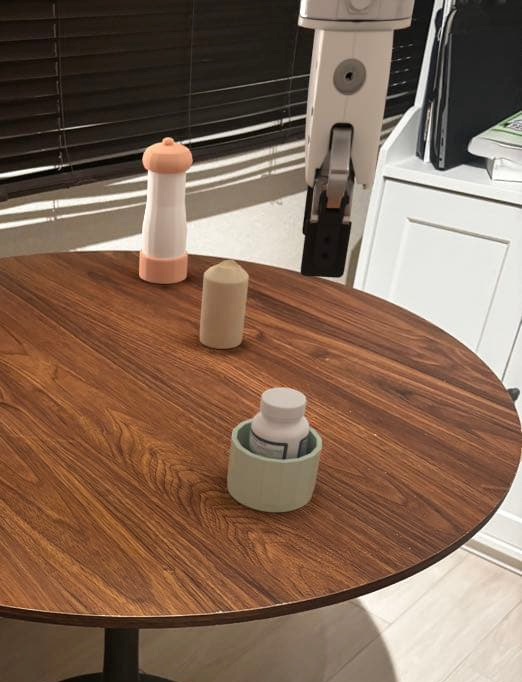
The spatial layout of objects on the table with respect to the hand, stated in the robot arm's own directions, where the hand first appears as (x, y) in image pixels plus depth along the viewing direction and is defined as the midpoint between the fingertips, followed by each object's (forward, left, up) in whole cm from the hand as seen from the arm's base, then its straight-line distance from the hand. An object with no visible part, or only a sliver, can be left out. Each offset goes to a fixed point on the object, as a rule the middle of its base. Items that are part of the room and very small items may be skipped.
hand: (321, 254), depth 65 cm
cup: (+1, +1, -22) cm, 22 cm away
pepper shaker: (+20, -54, -22) cm, 62 cm away
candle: (+9, -32, -22) cm, 40 cm away
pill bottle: (+1, +1, -21) cm, 21 cm away
